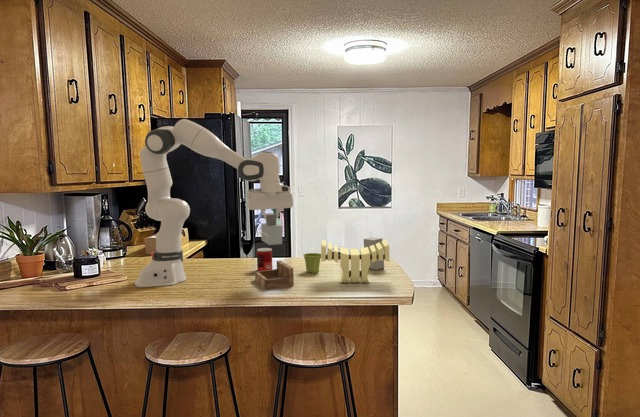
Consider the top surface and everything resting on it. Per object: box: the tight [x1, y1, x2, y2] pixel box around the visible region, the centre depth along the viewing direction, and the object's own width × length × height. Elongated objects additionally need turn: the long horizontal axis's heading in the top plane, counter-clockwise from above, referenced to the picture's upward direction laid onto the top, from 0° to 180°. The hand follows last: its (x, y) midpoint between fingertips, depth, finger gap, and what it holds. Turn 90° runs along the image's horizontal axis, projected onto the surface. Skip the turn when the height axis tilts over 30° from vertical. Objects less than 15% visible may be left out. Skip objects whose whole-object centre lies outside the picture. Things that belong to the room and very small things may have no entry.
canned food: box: [256, 247, 273, 271], centre depth 210 cm, size 8×8×11 cm
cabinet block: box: [260, 213, 283, 246], centre depth 183 cm, size 6×12×12 cm, turn 24°
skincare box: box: [363, 236, 385, 271], centre depth 211 cm, size 8×7×16 cm
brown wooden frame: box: [254, 260, 295, 290], centre depth 185 cm, size 18×13×8 cm
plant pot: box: [303, 252, 321, 274], centre depth 206 cm, size 9×9×9 cm
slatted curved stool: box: [320, 239, 390, 284], centre depth 188 cm, size 30×16×18 cm, turn 87°
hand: (271, 218), depth 182 cm, fingers closed on cabinet block, 3 cm apart
